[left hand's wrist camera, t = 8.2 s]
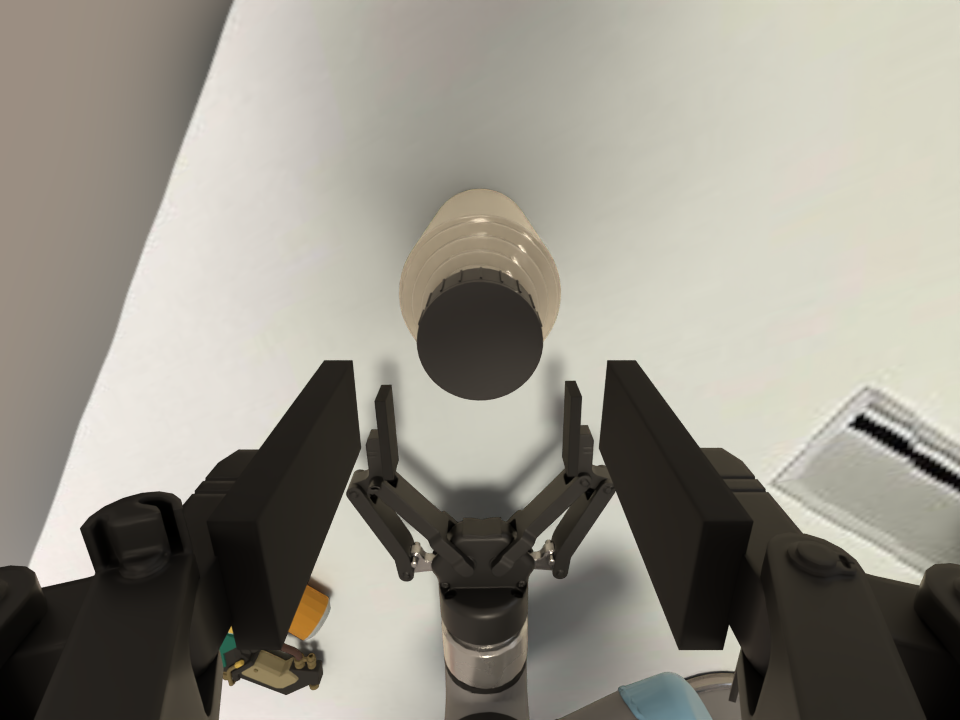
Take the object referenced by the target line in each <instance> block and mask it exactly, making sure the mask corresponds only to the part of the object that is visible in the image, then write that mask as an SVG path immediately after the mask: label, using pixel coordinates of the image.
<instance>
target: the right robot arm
mask: <svg viewBox="0 0 960 720" xmlns="http://www.w3.org/2000/svg"><path fill="white" fill-rule="evenodd" d="M581 405H582V396H581V393H580V391H579V388H578V386H577V383H576V381H565V399H564V424H563V449H562V458H563V461H564V465H565V469H564V470H563V471H562V472H561V473H560V474H559V475H558V476H557V477H556V478H555V479H554V480H553V481H552V482H551V483H550V484H549V485H548V486H547V487H546V488H545V489H544V490H543V491H542V492H541V493H540V494H539V495H538V496H537V497H536V498H535V499H534V500H532V501H531V502H530V503H529V504H528V505H527V506H526V507H525V508H524V509H523V510H518V511H517V512H516V513H515V514H514V515H513V516H512V517H511V518H510V519H509V520H508V521H507V522H505V521H502V520H501V517H492V518H487V519H483V520H481V519H476V518H463V521H461V522H459V523H458V522H457V521H456V520H454V519H453V518H452V517H451V516H450V515H449V514H448V513H447V512H445V511H443V512H441V511H440V510H439V509H437V508H436V507H435V506H434V505H433V504H432V503H431V502H430V501H428V500H427V499H426V498H425V497H424V496H423V495H422V494H421V493H419V492H418V491H417V490H416V489H415V488H414V487H413V486H412V485H411V484H409V483H408V482H407V481H406V480H405V479H404V478H403V477H402V476H400V475H399V474H398V473H397V472H396V468H397V465H398V461H399V458H398V448H397V437H396V427H395V416H394V406H393V395H392V385H381V387H380V390H379V392H378V394H377V397H376V399H375V409H376V418H377V428H378V429H372V430H371V432H370V435H369V437H368V440H367V443H366V451H367V459H368V467H369V469H368V470H365V471H364V470H356V471H355V472H354V474H353V477H352V479H351V482H350V484H349V487H348V489H347V492H346V495H347V497H348V499H349V500H350V501H351V503H352V504H353V505H354V507H355V508H356V509H357V511H358V512H359V513H360V515H361V516H362V517H363V519H364V520H365V521H366V523H367V524H368V525H369V527H370V528H371V529H372V531H373V532H374V533H375V535H376V536H377V537H378V539H379V540H380V541H381V543H382V544H383V545H384V547H385V548H386V549H387V551H388V552H389V553H390V555H391V556H392V557H393V559H394V560H395V563H396V567H397V571H398V575H399V578H400V579H401V580H402V581H411V580H412V579H413V577H414V572H423V571H433V573H434V574H435V575H436V576H437V578H438V581H439V594H440V608H441V617H442V622H441V624H442V636H443V648H444V660H445V675H446V707H445V720H529V710H528V697H527V663H526V661H527V651H528V616H527V614H528V578H529V576H530V574H531V572H532V571H533V569H541V570H552V572H553V576H554V577H555V578H557V579H563V578H565V577H566V576H567V574H568V569H569V564H570V559H571V557H572V555H573V554H574V552H575V551H576V549H577V548H578V546H579V545H580V543H581V542H582V540H583V539H584V537H585V536H586V534H587V533H588V531H589V530H590V529H591V527H592V526H593V524H594V523H595V521H596V520H597V518H598V517H599V515H600V514H601V512H602V511H603V509H604V508H605V506H606V505H607V503H608V502H609V500H610V499H611V498H612V496H613V495H614V493H615V491H616V490H615V488H614V485H613V483H612V480H611V477H610V475H609V472H608V470H607V467H606V466H605V465H599V466H595V465H592V460H593V444H594V440H593V437H592V435H591V432H590V430H589V427H588V425H580V424H581ZM568 508H569V509H568ZM566 509H568V510H567V512H566V513H565V515H564V517H563V518H562V520H561V521H560V523H559V524H558V526H557V527H556V529H555V531H554V533H553V536H552V539H551V540H546V541H545V544H544V545H543V547H542V549H541V550H540V551H537V552H533V550H532V547H533V545H534V543H535V540H536V538H537V537H538V536H539V535H540V534H541V533H542V532H543V531H544V530H545V529H546V528H547V527H548V526H550V525H551V524H552V523H553V522H554V521H555V520H556V519H557V518H558V517H559V516H560V515H561V514H562V513H563V512H564V511H565V510H566ZM396 513H397V514H398V515H400V516H401V517H402V518H403V519H404V520H405V521H407V522H408V523H409V524H410V525H411V526H412V527H414V528H415V529H416V530H417V531H418V532H419V533H420V534H422V535H423V536H424V537H425V538H426V539H427V540H428V541H429V544H430V546H431V548H432V549H433V550H434V551H433V553H427V552H425V551H424V550H423V548H422V547H421V546H420V543H419V542H415V543H414V540H413V537H412V535H411V533H410V532H409V530H408V529H407V527H406V526H405V525H404V523H403V522H402V520H401V519H400V518H399V516H398V515H397V514H396ZM733 677H734V673H715V674H707V675H702V676H698V677H694V678H691V679H688V680H685V679H684V678H682V677H681V676H680V675H678V674H676V673H672V672H664V673H661V674H658V675H655V676H652V677H649V678H646V679H644V680H641V681H638V682H635V683H632V684H629V685H626V686H621V687H619V688H618V691H616V692H614V693H612V694H610V695H608V696H606V697H604V698H602V699H600V700H598V701H596V702H593V703H591V704H589V705H587V706H585V707H583V708H581V709H579V710H577V711H575V712H573V713H571V714H569V715H567V716H564V717H562V718H560V719H556V720H741V709H740V699H739V692H738V696H737V700H736V703H734V702H731V701H728V700H729V694H730V689H731V685H732V681H733Z"/></svg>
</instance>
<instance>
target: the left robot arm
mask: <svg viewBox="0 0 960 720" xmlns="http://www.w3.org/2000/svg"><path fill="white" fill-rule="evenodd" d="M360 450H361V442H360V432H359V421H358V411H357V401H356V391H355V380H354V370H353V360H324V362H323V363H322V364H321V366H320V367H319V368H318V370H317V371H316V372H315V374H314V375H313V377H312V378H311V379H310V381H309V382H308V383H307V385H306V386H305V387H304V389H303V390H302V392H301V393H300V394H299V396H298V397H297V398H296V400H295V401H294V402H293V404H292V405H291V406H290V408H289V409H288V411H287V412H286V413H285V415H284V416H283V417H282V419H281V420H280V421H279V423H278V424H277V426H276V427H275V428H274V430H273V431H272V432H271V434H270V435H269V436H268V438H267V439H266V441H265V442H264V443H263V445H262V446H261V447H260V449H259V450H237V451H236V452H234V453H233V454H231V455H229V456H228V457H226V458H225V459H223V460H222V461H220V462H219V463H218V464H217V465H216V466H215V467H214V468H213V470H212V471H211V472H210V473H209V474H208V476H207V477H206V480H205V481H203V482H202V483H201V484H200V485H199V486H198V488H197V489H196V490H195V494H192V495H191V496H190V497H189V498H188V500H187V501H186V502H185V503H184V504H183V506H182V502H181V499H179V498H178V497H177V496H175V495H174V494H172V493H166V492H160V491H158V492H146V493H140V494H136V495H132V496H129V497H125V498H122V499H120V500H118V501H115V502H113V503H111V504H109V505H106V506H104V507H103V508H101V509H100V510H99V511H97V512H96V513H94V514H93V515H91V516H90V517H89V518H88V519H87V520H86V522H85V523H84V524H83V525H82V526H81V528H80V530H81V533H82V536H83V539H84V542H85V544H86V547H87V550H88V553H89V556H90V559H91V561H92V564H93V567H94V570H95V575H94V576H91V577H88V578H84V579H79V580H74V581H70V582H65V583H61V584H56V585H52V586H47V587H43V588H41V586H40V584H39V581H38V579H37V576H36V574H35V572H34V571H32V570H31V569H29V568H28V567H25V566H5V567H0V720H219V711H220V700H221V690H222V680H223V663H222V658H221V654H220V650H219V649H220V647H221V645H222V643H223V641H224V639H225V637H226V635H227V633H228V631H229V630H230V628H231V627H232V631H233V635H234V639H235V643H236V648H237V650H281V649H282V646H283V644H284V641H285V639H286V636H287V634H288V631H289V629H290V626H291V624H292V621H293V619H294V616H295V614H296V611H297V609H298V606H299V604H300V601H301V599H302V596H303V593H304V591H305V588H306V586H307V583H308V581H309V578H310V576H311V573H312V571H313V568H314V566H315V563H316V561H317V558H318V556H319V553H320V551H321V548H322V546H323V543H324V541H325V538H326V535H327V533H328V530H329V528H330V525H331V523H332V520H333V518H334V515H335V513H336V510H337V508H338V505H339V503H340V500H341V498H342V495H343V493H344V490H345V488H346V485H347V483H348V480H349V477H350V475H351V472H352V470H353V467H354V465H355V462H356V460H357V457H358V455H359V452H360ZM599 450H600V452H601V455H602V457H603V460H604V462H605V465H606V467H607V470H608V472H609V475H610V477H611V480H612V483H613V485H614V488H615V490H616V493H617V495H618V498H619V500H620V503H621V505H622V508H623V510H624V513H625V515H626V518H627V520H628V523H629V525H630V528H631V530H632V533H633V535H634V538H635V541H636V543H637V546H638V548H639V551H640V553H641V556H642V558H643V561H644V563H645V566H646V568H647V571H648V573H649V576H650V578H651V581H652V583H653V586H654V588H655V591H656V593H657V596H658V599H659V601H660V604H661V606H662V609H663V611H664V614H665V616H666V619H667V621H668V624H669V626H670V629H671V631H672V634H673V636H674V639H675V641H676V644H677V646H678V649H679V650H723V648H724V643H725V639H726V635H727V631H728V627H729V625H730V627H731V629H732V631H733V633H734V635H735V636H736V638H737V640H738V642H739V644H740V646H741V650H740V654H739V658H738V662H737V665H736V669H735V673H734V677H733V681H732V685H731V689H730V694H729V700H728V701H731V702H734V703H736V700H737V696H738V692H739V699H740V709H741V720H960V565H957V564H952V563H947V564H935V565H933V566H932V567H930V568H928V569H927V570H926V571H925V574H924V576H923V579H922V581H921V584H920V586H919V585H914V584H910V583H905V582H900V581H896V580H891V579H887V578H882V577H878V576H873V575H870V574H866V573H865V572H864V570H863V569H862V568H861V566H860V565H859V563H858V562H857V560H856V559H854V558H853V557H852V556H851V555H849V554H848V553H847V552H846V551H844V550H843V549H842V548H840V547H838V546H836V545H834V544H832V543H830V542H828V541H826V540H824V539H821V538H818V537H815V536H811V535H808V534H803V533H802V532H801V531H800V529H799V528H798V527H797V526H796V525H795V523H794V522H793V521H792V520H791V519H790V518H789V516H788V515H787V514H786V513H785V512H784V510H783V509H782V508H781V507H780V506H779V504H778V503H777V502H776V501H775V500H774V498H773V497H772V496H771V495H770V494H769V492H766V491H765V488H764V487H763V485H762V484H761V483H760V482H759V481H758V479H755V476H754V475H753V473H752V472H751V471H750V470H749V469H748V467H747V466H746V465H745V464H744V463H743V461H741V460H740V459H738V458H737V457H735V456H733V455H732V454H730V453H729V452H727V451H726V450H724V449H723V448H700V447H699V446H698V445H697V443H696V442H695V441H694V439H693V438H692V436H691V435H690V434H689V432H688V431H687V430H686V428H685V427H684V426H683V424H682V423H681V421H680V420H679V419H678V417H677V416H676V415H675V413H674V412H673V411H672V409H671V408H670V406H669V405H668V404H667V402H666V401H665V400H664V398H663V397H662V396H661V394H660V393H659V392H658V390H657V389H656V387H655V386H654V385H653V383H652V382H651V381H650V379H649V378H648V377H647V375H646V374H645V372H644V371H643V370H642V368H641V367H640V366H639V364H638V363H637V362H636V360H607V370H606V380H605V391H604V401H603V411H602V421H601V432H600V442H599Z"/></svg>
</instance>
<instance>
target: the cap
mask: <svg viewBox="0 0 960 720" xmlns="http://www.w3.org/2000/svg"><path fill="white" fill-rule="evenodd" d="M418 325H419V327H418V332H417V350H418V354H419V358H420V361H421V363H422V366H423V367H424V369H425V371H426V372H427V374H428V375H429V377H430V378H431V379H432V380H433V381H434V382H435V383H436V384H437V385H438V386H440V387H441V388H442V389H444V390H445V391H447V392H449V393H451V394H453V395H455V396H458V397H461V398H464V399H469V400H491V399H496V398H499V397H502V396H505V395H507V394H509V393H511V392H513V391H515V390H516V389H518V388H519V387H521V386H522V385H523V384H524V383H525V382H526V381H527V380H528V379H529V378H530V377H531V375H532V374H533V372H534V371H535V369H536V368H537V365H538V363H539V361H540V358H541V354H542V349H543V333H542V328H541V327H543V326H542V323H541V320H540V317H539V314H538V311H536V309H535V305H534V302H533V299H532V296H531V294H528V292H527V291H526V290H525V288H524V287H523V286H522V285H521V284H520V283H519V280H515V279H514V278H512V277H511V276H509V275H507V274H505V273H503V272H502V271H501V270H500V271H497V270H493V269H487V268H482V267H480V268H473V269H466V270H463V271H462V270H460V272H457V273H455V274H453V275H451V276H450V277H448V278H446V279H445V278H444V279H443V280H442V282H441V283H440V284H439V285H438V286H437V287H436V288H435V290H434V291H433V292H432V293H430V294H429V297H428V300H427V303H426V307H425V309H423V311H422V313H421V316H420V319H419V322H418Z"/></svg>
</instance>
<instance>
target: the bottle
mask: <svg viewBox="0 0 960 720" xmlns="http://www.w3.org/2000/svg"><path fill="white" fill-rule="evenodd" d="M480 267H482V268H487V269H493V270H497V271H500V270H501V271H502V272H503V273H505V274H507V275H509V276H511V277H512V278H514V279H515V280H519V283H520V284H521V285H522V286H523V287H524V288H525V290H526V291H527V292H528V294H531V296H532V299H533V302H534V305H535V309H536V311H538V314H539V317H540V320H541V323H542V326H543V327H541V328H542V333H543V341H544V340H545V339H546V338H547V336H548V334H549V333H550V331H551V330H552V327H553V325H554V323H555V321H556V318H557V315H558V311H559V306H560V300H561V287H560V278H559V274H558V270H557V267H556V265H555V262H554V260H553V258H552V256H551V254H550V253H549V251H548V249H547V248H546V246H545V245H544V243H543V242H542V240H541V239H540V237H539V236H538V234H537V233H536V231H535V230H534V228H533V227H532V225H531V224H530V222H529V221H528V219H527V218H526V216H525V215H524V213H523V212H522V211H521V209H520V208H519V207H518V205H517V204H516V203H515V202H514V201H512V200H511V199H510V198H508V197H507V196H505V195H503V194H501V193H499V192H496V191H493V190H489V189H471V190H467V191H464V192H461V193H459V194H457V195H455V196H453V197H452V198H450V199H449V200H448V201H447V202H445V203H444V204H443V206H442V207H441V208H440V209H439V211H438V212H437V214H436V215H435V217H434V218H433V220H432V221H431V223H430V224H429V226H428V227H427V229H426V230H425V232H424V233H423V235H422V236H421V238H420V239H419V241H418V242H417V244H416V245H415V247H414V248H413V250H412V251H411V253H410V254H409V256H408V258H407V260H406V262H405V265H404V268H403V271H402V274H401V279H400V286H399V299H400V307H401V311H402V315H403V318H404V321H405V323H406V325H407V327H408V329H409V331H410V333H411V334H412V336H413V337H414V339H415V340H416V342H417V332H418V327H419V325H418V322H419V319H420V316H421V313H422V311H423V309H425V307H426V303H427V300H428V297H429V294H430V293H432V292H433V291H434V290H435V288H436V287H437V286H438V285H439V284H440V283H441V282H442V280H443V279H444V278H445V279H446V278H448V277H450V276H451V275H453V274H455V273H457V272H460V270H462V271H463V270H466V269H473V268H480Z"/></svg>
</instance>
